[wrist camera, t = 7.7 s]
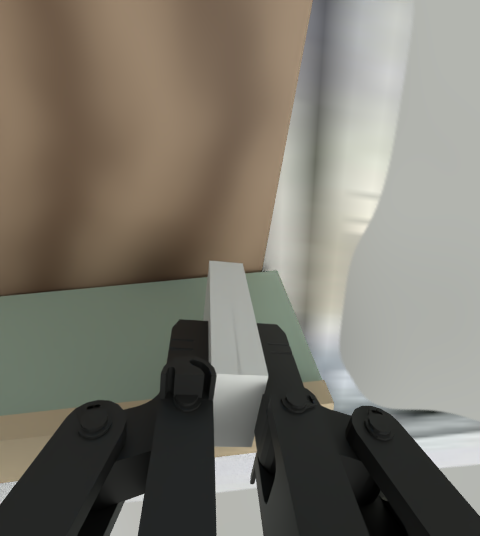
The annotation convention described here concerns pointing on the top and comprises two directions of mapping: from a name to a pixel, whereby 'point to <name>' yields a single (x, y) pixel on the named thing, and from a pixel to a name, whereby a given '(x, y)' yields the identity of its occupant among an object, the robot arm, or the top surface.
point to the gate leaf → (110, 353)
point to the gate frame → (141, 137)
